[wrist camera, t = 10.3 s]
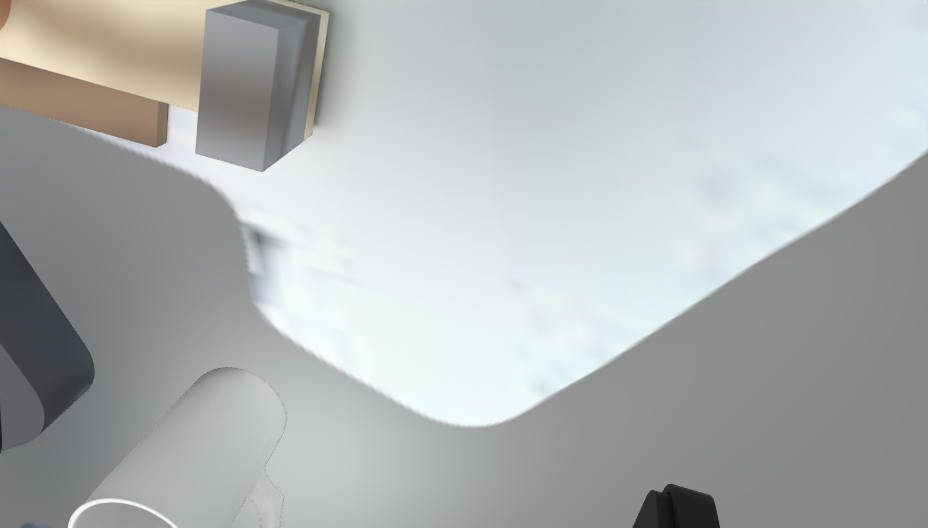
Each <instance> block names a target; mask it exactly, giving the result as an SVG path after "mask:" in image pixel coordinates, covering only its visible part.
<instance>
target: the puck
mask: <svg viewBox="0 0 928 528" xmlns="http://www.w3.org/2000/svg"><path fill="white" fill-rule="evenodd" d="M10 9H11V0H0V30H1V29H2V28H3V26H4V25H5V23H6V21H7V19H8V17H9V13H10Z"/></svg>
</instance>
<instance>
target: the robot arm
mask: <svg viewBox="0 0 928 528" xmlns="http://www.w3.org/2000/svg"><path fill="white" fill-rule="evenodd" d="M1 449H2V428H1V410H0V453H1ZM633 528H720V526H719V521H718V516H717V511H716V506H715V502H714V499H713V498H712V497H711V496H710V495H708V494H704V493H701V492H697V491H694V490H691V489H687V488H684V487H680V486H676V485H673V484H668V485H667V486H666V487H665V488H664V490H663V492H662V493H661V492H658V491H654V490H651V491H650V492H649V493H648V495H647V497H646V499H645V501H644V503H643V505H642V508H641V510H640V512H639V514H638V517H637V519H636V521H635V523H634V525H633Z"/></svg>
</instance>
